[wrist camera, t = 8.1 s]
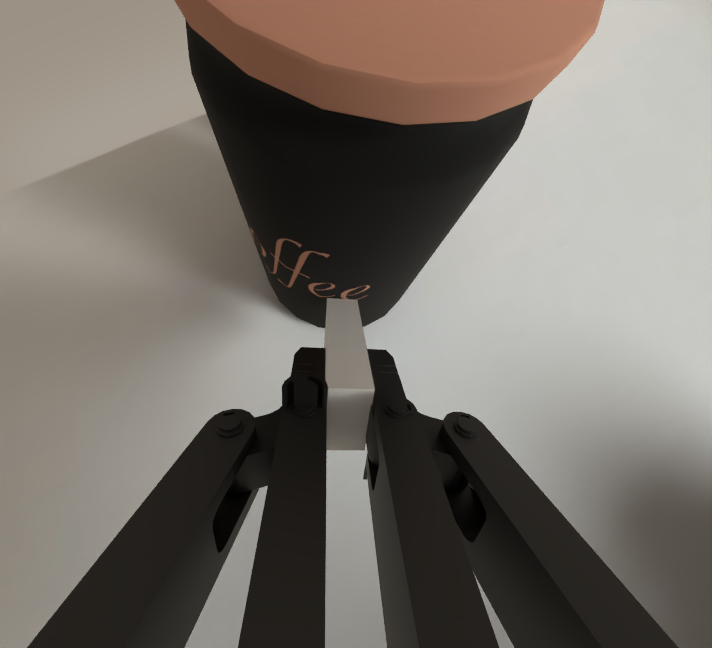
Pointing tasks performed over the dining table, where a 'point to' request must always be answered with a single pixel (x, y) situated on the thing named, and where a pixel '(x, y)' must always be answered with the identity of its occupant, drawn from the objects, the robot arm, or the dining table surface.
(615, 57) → the dining table surface
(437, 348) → the dining table surface
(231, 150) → the coffee jar
